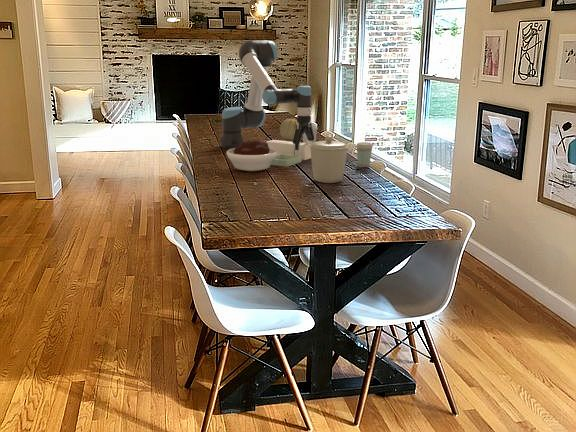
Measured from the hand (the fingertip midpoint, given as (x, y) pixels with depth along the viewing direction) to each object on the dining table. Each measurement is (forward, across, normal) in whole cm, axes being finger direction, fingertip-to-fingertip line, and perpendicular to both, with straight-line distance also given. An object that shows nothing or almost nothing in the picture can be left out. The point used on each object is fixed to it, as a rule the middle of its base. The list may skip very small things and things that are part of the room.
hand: (303, 154), depth 343 cm
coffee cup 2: (+3, -3, -37) cm, 37 cm away
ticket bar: (+2, 0, +13) cm, 13 cm away
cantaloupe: (+2, +49, +36) cm, 61 cm away
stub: (+3, 0, 0) cm, 3 cm away
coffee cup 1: (+2, +25, +10) cm, 27 cm away
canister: (+3, -44, -37) cm, 58 cm away
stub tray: (+2, -17, +2) cm, 17 cm away
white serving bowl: (+3, -41, +7) cm, 42 cm away
